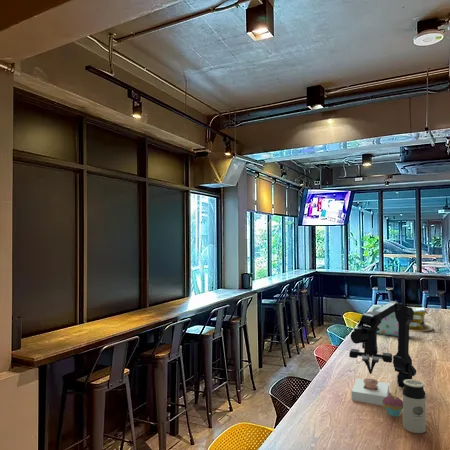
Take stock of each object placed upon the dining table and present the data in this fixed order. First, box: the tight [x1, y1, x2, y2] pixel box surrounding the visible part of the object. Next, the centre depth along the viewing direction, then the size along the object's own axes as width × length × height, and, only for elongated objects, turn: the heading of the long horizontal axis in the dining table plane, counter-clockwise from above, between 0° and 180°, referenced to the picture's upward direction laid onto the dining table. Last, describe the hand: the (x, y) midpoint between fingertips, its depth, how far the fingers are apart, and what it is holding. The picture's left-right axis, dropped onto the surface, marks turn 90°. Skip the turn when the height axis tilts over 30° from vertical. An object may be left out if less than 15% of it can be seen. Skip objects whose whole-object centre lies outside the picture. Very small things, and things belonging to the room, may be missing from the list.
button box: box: [350, 377, 390, 407], centre depth 185 cm, size 15×18×4 cm
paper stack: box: [409, 306, 434, 333], centre depth 318 cm, size 25×25×17 cm
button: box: [363, 377, 379, 390], centre depth 185 cm, size 6×6×4 cm
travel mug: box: [402, 378, 427, 434], centre depth 153 cm, size 8×8×18 cm
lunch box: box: [372, 304, 399, 337], centre depth 298 cm, size 27×10×21 cm, turn 55°
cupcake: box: [382, 387, 403, 418], centre depth 166 cm, size 9×8×12 cm
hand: (370, 373), depth 185 cm, fingers closed
